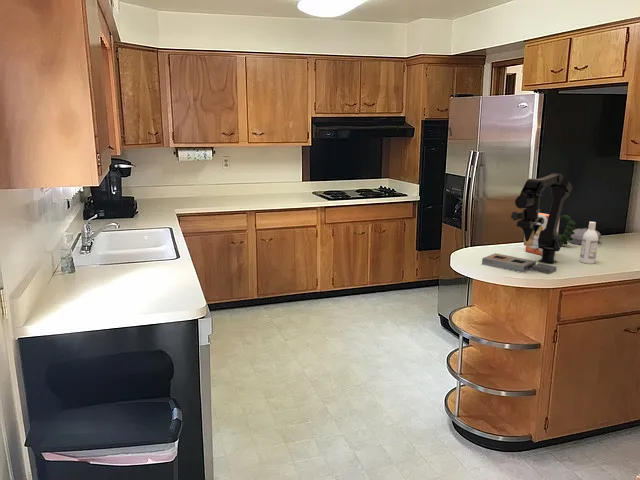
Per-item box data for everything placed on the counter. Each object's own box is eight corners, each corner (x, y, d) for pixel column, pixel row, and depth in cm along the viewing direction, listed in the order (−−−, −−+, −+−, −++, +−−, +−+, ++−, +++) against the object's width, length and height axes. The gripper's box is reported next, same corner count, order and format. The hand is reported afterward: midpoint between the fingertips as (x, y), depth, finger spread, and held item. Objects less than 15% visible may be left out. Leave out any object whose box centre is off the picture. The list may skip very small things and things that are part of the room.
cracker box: (524, 251, 275) (528, 212, 271) (531, 250, 279) (535, 211, 274) (548, 257, 264) (553, 216, 259) (555, 255, 267) (560, 215, 263)
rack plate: (495, 259, 258) (495, 252, 257) (535, 267, 245) (536, 260, 244) (481, 264, 248) (482, 257, 247) (523, 272, 235) (524, 266, 234)
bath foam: (596, 262, 256) (602, 222, 252) (592, 264, 251) (598, 224, 247) (581, 259, 261) (587, 220, 256) (577, 262, 256) (582, 222, 252)
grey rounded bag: (576, 238, 313) (562, 242, 299) (578, 224, 311) (564, 228, 297) (603, 242, 302) (590, 247, 289) (605, 228, 300) (592, 233, 287)
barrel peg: (525, 243, 243) (527, 229, 242) (534, 245, 241) (535, 230, 239) (522, 245, 240) (523, 230, 239) (531, 246, 238) (532, 231, 236)
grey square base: (538, 267, 245) (539, 263, 244) (556, 270, 239) (556, 266, 239) (531, 270, 239) (532, 266, 239) (549, 274, 234) (550, 269, 233)
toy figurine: (573, 250, 289) (535, 237, 309) (581, 217, 283) (541, 206, 303) (563, 251, 284) (525, 238, 304) (570, 218, 278) (531, 207, 298)
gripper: (522, 203, 249) (518, 235, 252) (506, 206, 235) (503, 240, 238) (546, 205, 242) (542, 238, 245) (531, 209, 228) (527, 244, 231)
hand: (528, 240), depth 240 cm, fingers closed on barrel peg, 4 cm apart
